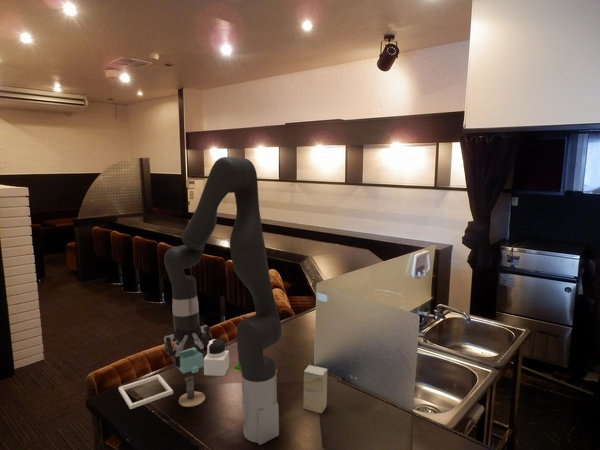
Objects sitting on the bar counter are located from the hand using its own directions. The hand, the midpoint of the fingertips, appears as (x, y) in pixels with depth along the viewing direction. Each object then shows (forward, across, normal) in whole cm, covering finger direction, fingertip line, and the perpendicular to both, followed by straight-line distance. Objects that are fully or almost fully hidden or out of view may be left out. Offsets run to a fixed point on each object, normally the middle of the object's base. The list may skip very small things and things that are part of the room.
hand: (189, 363), depth 121 cm
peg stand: (+13, 0, 0) cm, 13 cm away
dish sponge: (+13, +25, +2) cm, 28 cm away
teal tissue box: (+1, 0, 0) cm, 1 cm away
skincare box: (+14, +28, -27) cm, 41 cm away
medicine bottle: (+13, +14, +10) cm, 22 cm away
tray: (+12, -10, +12) cm, 20 cm away
